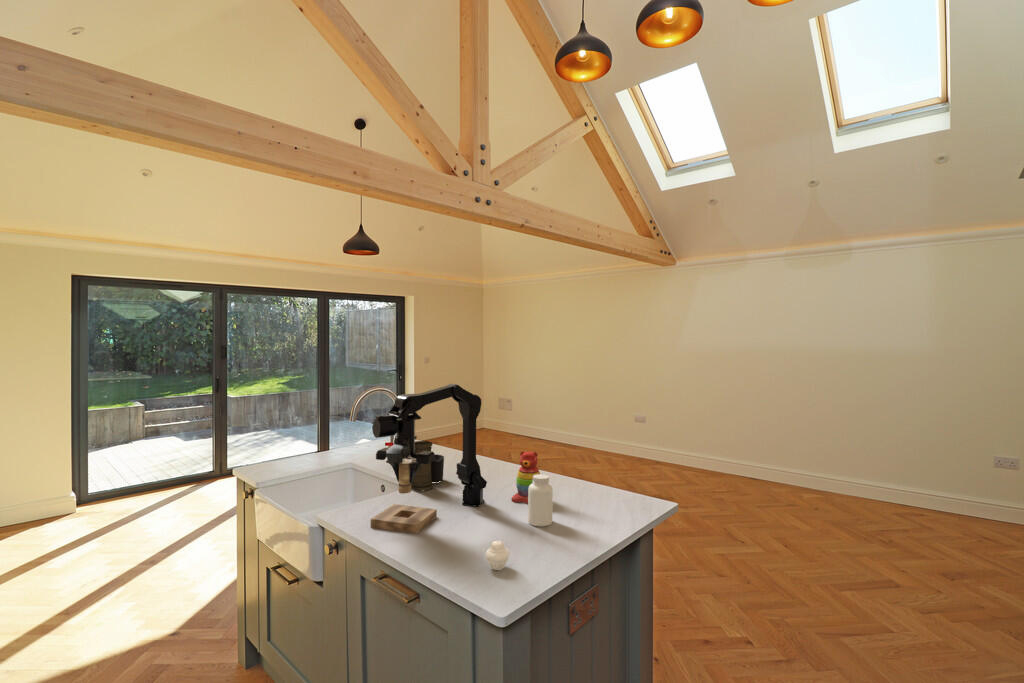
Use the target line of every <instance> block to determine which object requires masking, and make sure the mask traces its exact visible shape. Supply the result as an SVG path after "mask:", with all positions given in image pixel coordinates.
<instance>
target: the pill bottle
mask: <svg viewBox="0 0 1024 683" xmlns="http://www.w3.org/2000/svg"><path fill="white" fill-rule="evenodd" d="M549 483H550V476H549V475H547V474H543V473H542V474H541V473H540V474H537V475H534V476H533V483H532V484H531V485H530V486H529V488H528V503H527V521H528V523H529V525H531V526H533V527H534V526H535V527H548V526H550V525H552V523H553V502H554V500H553V499H554V498H553V497H554V496H553V494H554V493H553V492H554V490H553V487H552V485H551V484H549Z"/></svg>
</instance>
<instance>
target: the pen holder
mask: <svg viewBox="0 0 1024 683" xmlns="http://www.w3.org/2000/svg"><path fill="white" fill-rule="evenodd" d="M444 463H445V456H444V455H441V454H435V460H434V461H432V462H431V474H432V475H431V480H432V482H439V481H443V479H444V466H445V464H444Z"/></svg>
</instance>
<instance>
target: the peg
mask: <svg viewBox="0 0 1024 683" xmlns="http://www.w3.org/2000/svg"><path fill="white" fill-rule="evenodd" d="M409 463H411V462H408V461H405V462H404V461H402V463H399V482H398V493H399V494H409V493H411V492H412V490H411V484H412V483H410V466H409Z"/></svg>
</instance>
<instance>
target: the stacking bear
mask: <svg viewBox="0 0 1024 683" xmlns="http://www.w3.org/2000/svg"><path fill="white" fill-rule="evenodd" d="M538 459H539V458H538V453H537V451H535V452H532V451H526V452H525V451H521V452H520V457H519V464H520V467H519V469H518V471H517V475H516V480H515V481H516V482H515V484H516V485H515V486H516V489H517V492H516V493H515V494H514V495H513V496H512V497H511V499H510V500H511V502H513V503H516V502H525V503H524V504H528V488H529V486H530V485H531V484H532V483H533V476H534V475H537V474H541V473H540V470H539V468H538V466H537V465H538V461H539V460H538Z"/></svg>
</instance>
